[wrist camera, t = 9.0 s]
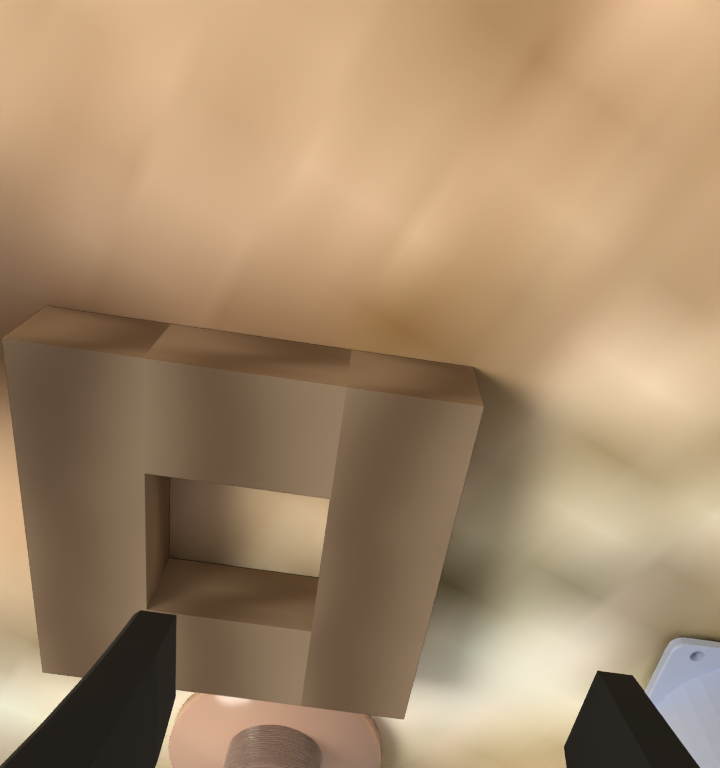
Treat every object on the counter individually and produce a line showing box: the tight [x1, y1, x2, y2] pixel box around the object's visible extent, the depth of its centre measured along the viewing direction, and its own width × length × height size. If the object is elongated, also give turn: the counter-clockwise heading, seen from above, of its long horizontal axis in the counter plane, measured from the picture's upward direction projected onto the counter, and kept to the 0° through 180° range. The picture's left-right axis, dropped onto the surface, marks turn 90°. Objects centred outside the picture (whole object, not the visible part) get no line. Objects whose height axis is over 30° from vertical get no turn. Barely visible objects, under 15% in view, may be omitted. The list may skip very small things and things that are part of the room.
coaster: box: [169, 692, 381, 768], centre depth 28 cm, size 9×9×1 cm
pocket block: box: [2, 306, 484, 719], centre depth 22 cm, size 13×13×2 cm
